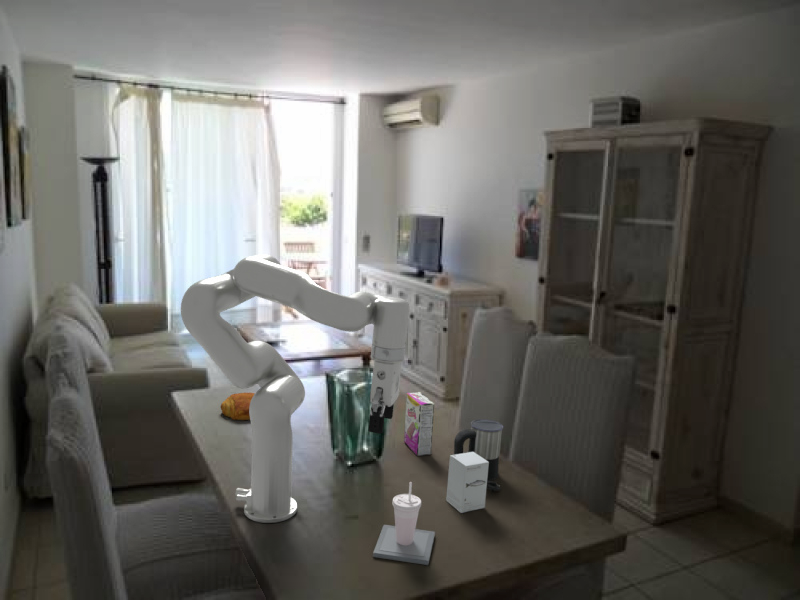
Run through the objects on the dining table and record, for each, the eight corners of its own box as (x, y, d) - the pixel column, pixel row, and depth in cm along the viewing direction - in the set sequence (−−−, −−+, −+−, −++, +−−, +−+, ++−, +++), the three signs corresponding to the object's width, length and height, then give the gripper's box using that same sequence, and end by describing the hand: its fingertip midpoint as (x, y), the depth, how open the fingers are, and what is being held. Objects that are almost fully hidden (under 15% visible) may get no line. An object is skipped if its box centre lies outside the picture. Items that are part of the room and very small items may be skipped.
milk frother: (483, 464, 187) (487, 416, 184) (523, 486, 174) (528, 435, 172) (446, 475, 178) (450, 425, 176) (485, 498, 166) (490, 444, 163)
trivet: (372, 556, 136) (373, 552, 136) (383, 528, 148) (383, 524, 148) (428, 565, 134) (428, 560, 134) (434, 535, 146) (434, 531, 146)
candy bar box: (402, 442, 200) (405, 392, 197) (417, 440, 202) (420, 391, 199) (416, 456, 190) (420, 404, 187) (431, 455, 191) (435, 403, 189)
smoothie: (416, 550, 138) (419, 490, 135) (387, 545, 139) (390, 486, 137) (421, 535, 144) (425, 477, 141) (393, 531, 145) (396, 473, 143)
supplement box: (461, 514, 157) (464, 466, 155) (445, 500, 163) (448, 454, 161) (485, 508, 160) (489, 461, 158) (469, 495, 167) (473, 450, 165)
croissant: (222, 414, 222) (218, 392, 220) (267, 406, 226) (264, 384, 224) (222, 428, 208) (219, 404, 206) (270, 419, 212) (267, 396, 211)
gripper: (396, 364, 133) (388, 441, 136) (411, 346, 150) (404, 415, 153) (361, 359, 134) (354, 435, 137) (380, 341, 151) (373, 410, 154)
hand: (380, 424), depth 145 cm, fingers open, 9 cm apart
